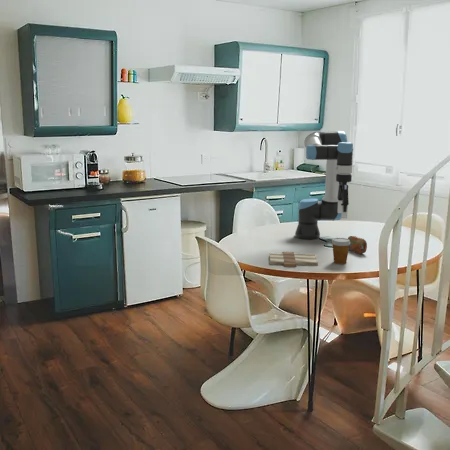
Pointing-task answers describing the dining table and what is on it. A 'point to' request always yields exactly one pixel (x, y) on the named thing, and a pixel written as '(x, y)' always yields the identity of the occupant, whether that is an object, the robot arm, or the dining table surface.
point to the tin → (357, 245)
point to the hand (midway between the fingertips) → (342, 215)
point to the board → (292, 259)
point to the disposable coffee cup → (340, 250)
